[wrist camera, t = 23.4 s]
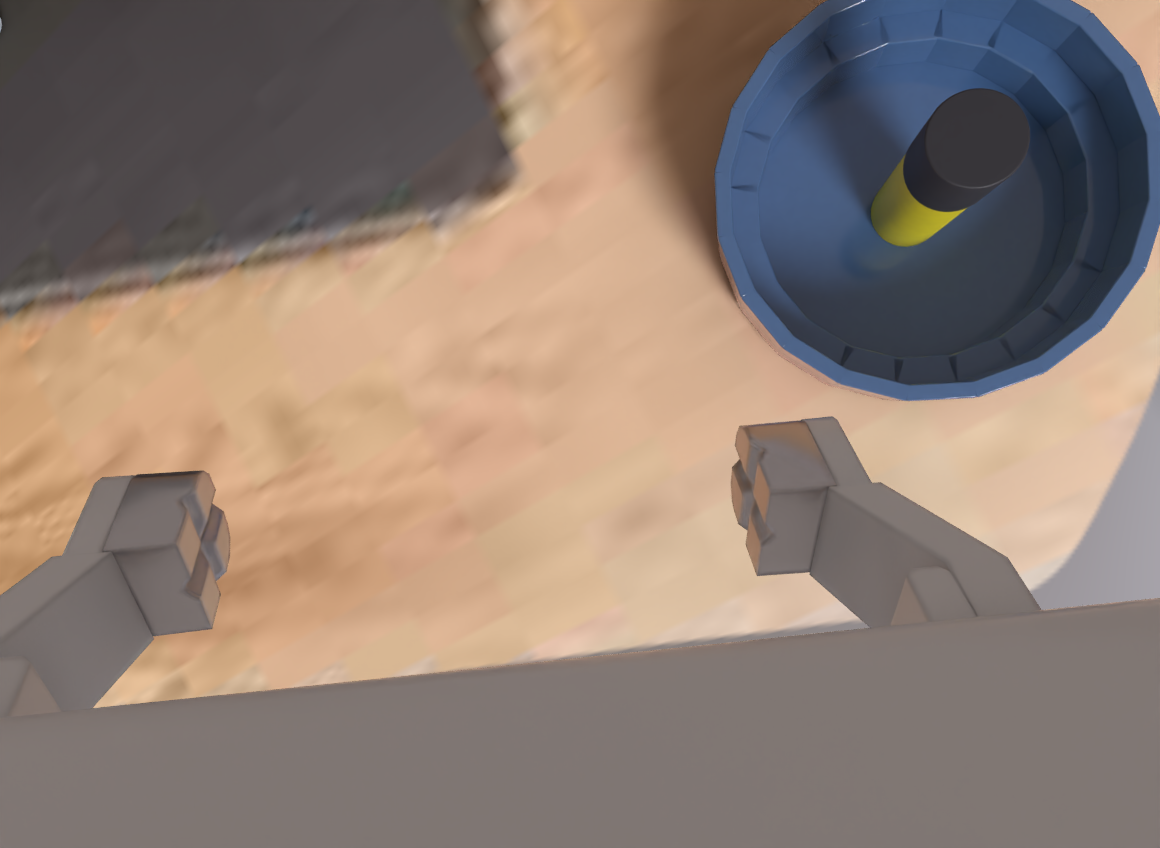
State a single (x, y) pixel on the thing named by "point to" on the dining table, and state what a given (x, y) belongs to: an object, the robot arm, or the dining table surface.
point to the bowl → (972, 239)
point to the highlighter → (951, 165)
